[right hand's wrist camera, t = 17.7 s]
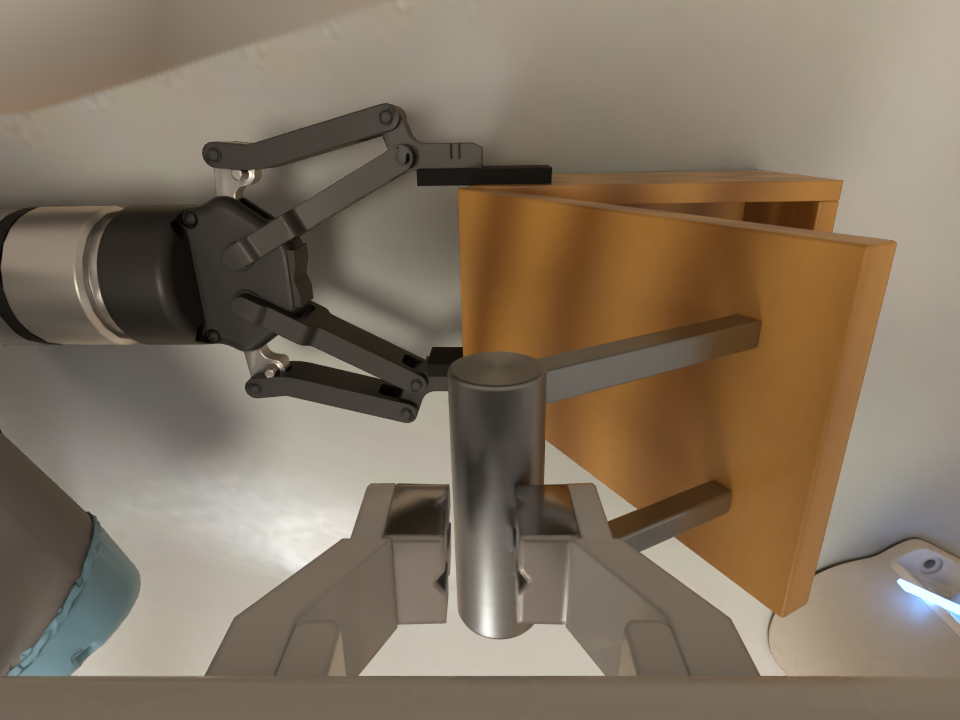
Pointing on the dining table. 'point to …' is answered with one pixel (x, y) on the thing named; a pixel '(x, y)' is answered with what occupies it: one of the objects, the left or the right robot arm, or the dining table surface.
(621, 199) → the chest
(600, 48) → the dining table surface
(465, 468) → the lid
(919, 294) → the dining table surface
